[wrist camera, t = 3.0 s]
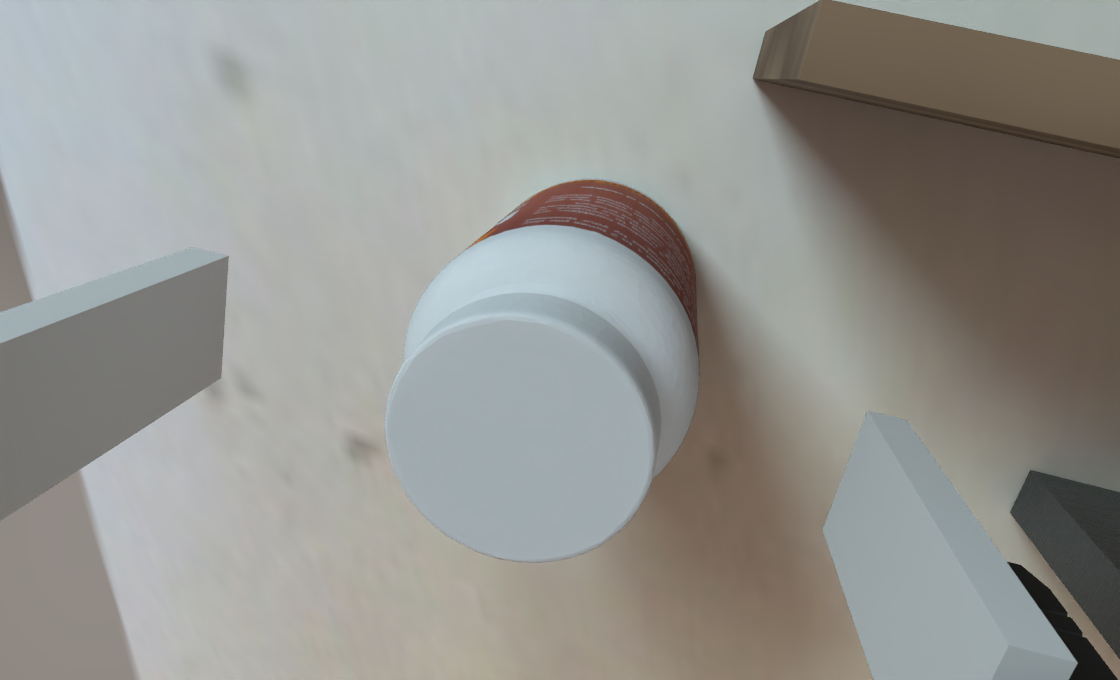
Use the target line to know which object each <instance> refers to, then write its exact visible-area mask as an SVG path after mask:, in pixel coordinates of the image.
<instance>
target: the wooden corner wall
mask: <svg viewBox="0 0 1120 680" xmlns="http://www.w3.org/2000/svg"><path fill="white" fill-rule="evenodd" d="M753 79H756V80H761V81H765V82H770V83H775V84H779V85H784V86H788V87H793V88H798V89H802V90H807V91H811V92H816V93H821V94H825V95H830V96H834V97H839V98H844V99H848V100H853V101H857V102H862V103H867V104H871V105H876V106H881V107H885V108H890V109H894V110H899V111H904V112H908V113H913V114H917V115H922V116H927V117H931V118H936V119H940V120H945V121H950V122H954V123H959V124H964V125H968V126H973V127H977V128H982V129H987V130H991V131H996V132H1000V133H1005V134H1010V135H1014V136H1019V137H1023V138H1028V139H1033V140H1037V141H1042V142H1047V143H1051V144H1056V145H1060V146H1065V147H1070V148H1074V149H1079V150H1083V151H1088V152H1093V153H1097V154H1102V155H1106V156H1111V157H1116V158H1120V60H1117V59H1112V58H1107V57H1102V56H1098V55H1093V54H1088V53H1083V52H1078V51H1073V50H1069V49H1064V48H1059V47H1054V46H1049V45H1044V44H1040V43H1035V42H1030V41H1025V40H1020V39H1016V38H1011V37H1006V36H1001V35H996V34H991V33H987V32H982V31H977V30H972V29H967V28H963V27H958V26H953V25H948V24H943V23H938V22H934V21H929V20H924V19H919V18H914V17H909V16H905V15H900V14H895V13H890V12H885V11H881V10H876V9H871V8H866V7H861V6H856V5H852V4H847V3H842V2H837V1H832V0H820V1H818V2H816V3H814V4H813V5H811V6H809V7H807V8H806V9H804V10H802V11H801V12H799V13H797V14H795V15H794V16H792V17H790V18H788V19H787V20H785V21H783V22H781V23H780V24H778V25H776V26H774V27H773V28H771V29H769V30H768V31H766V32H765V36H764V40H763V43H762V47H761V50H760V54H759V58H758V61H757V65H756V68H755V72H754V76H753Z"/></svg>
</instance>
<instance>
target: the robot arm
mask: <svg viewBox="0 0 1120 680" xmlns="http://www.w3.org/2000/svg"><path fill="white" fill-rule="evenodd" d="M228 257H229V256H227V255H223V254H219V253H215V252H211V251H206V250H202V249H198V248H194V247H193V248H190V249H187V250H184V251H181V252H178V253H175V254H172V255H169V256H166V257H163V258H160V259H157V260H154V261H151V262H148V263H145V264H142V265H139V266H137V267H134V268H131V269H128V270H125V271H122V272H119V273H116V274H113V275H110V276H107V277H104V278H101V279H98V280H95V281H92V282H89V283H86V284H83V285H80V286H77V287H74V288H71V289H68V290H65V291H62V292H59V293H56V294H54V295H51V296H48V297H45V298H42V299H39V300H36V301H33V302H30V303H27V304H24V305H21V306H18V307H15V308H12V309H9V310H6V311H3V312H0V521H1V520H3V519H4V518H6V517H7V516H9V515H10V514H12V513H13V512H15V511H16V510H18V509H19V508H21V507H23V506H24V505H26V504H27V503H29V502H30V501H32V500H33V499H35V498H37V497H38V496H39V495H41V494H43V493H44V492H46V491H47V490H49V489H50V488H52V487H53V486H55V485H57V484H58V483H60V482H61V481H63V480H64V479H66V478H67V477H69V476H70V475H72V474H74V473H75V472H77V471H78V470H80V469H81V468H83V467H84V466H86V465H87V464H89V463H91V462H92V461H94V460H95V459H97V458H98V457H100V456H101V455H103V454H104V453H106V452H108V451H109V450H111V449H112V448H114V447H115V446H117V445H118V444H120V443H121V442H123V441H124V440H126V439H128V438H129V437H131V436H132V435H134V434H135V433H137V432H138V431H140V430H141V429H143V428H145V427H146V426H148V425H149V424H151V423H152V422H154V421H155V420H157V419H158V418H160V417H162V416H163V415H165V414H166V413H168V412H169V411H171V410H172V409H174V408H175V407H177V406H178V405H180V404H182V403H183V402H185V401H186V400H188V399H189V398H191V397H192V396H194V395H195V394H197V393H199V392H200V391H202V390H203V389H205V388H206V387H208V386H209V385H211V384H212V383H214V382H216V381H217V380H219V379H220V378H221V372H222V356H223V339H224V323H225V307H226V290H227V274H228ZM823 533H824V536H825V539H826V542H827V545H828V548H829V551H830V554H831V557H832V560H833V562H834V565H835V568H836V571H837V574H838V577H839V580H840V583H841V586H842V589H843V592H844V595H845V598H846V601H847V604H848V607H849V609H850V612H851V615H852V618H853V621H854V624H855V627H856V630H857V633H858V636H859V639H860V642H861V645H862V648H863V651H864V654H865V656H866V659H867V662H868V665H869V668H870V671H871V674H872V677H873V680H1118V679H1117V678H1116V677H1115V675H1114V674H1113V673H1112V671H1111V670H1110V669H1109V667H1108V666H1107V665H1106V663H1105V662H1104V661H1103V659H1102V658H1101V657H1100V655H1099V654H1098V653H1097V651H1096V650H1095V649H1094V647H1093V646H1092V645H1091V643H1090V642H1089V641H1088V639H1087V638H1084V637H1082V631H1081V630H1080V629H1079V627H1078V626H1077V625H1076V623H1075V622H1074V621H1073V619H1072V618H1070V617H1067V614H1068V613H1067V611H1066V610H1065V609H1064V607H1063V606H1062V605H1061V603H1060V602H1059V601H1058V599H1057V598H1056V597H1055V595H1054V594H1053V593H1052V591H1051V590H1050V589H1049V588H1048V587H1047V586H1045V585H1044V584H1043V583H1042V582H1040V581H1039V580H1038V579H1037V578H1036V577H1034V576H1033V575H1032V574H1031V573H1030V572H1028V571H1027V570H1026V569H1025V568H1024V567H1022V566H1021V565H1018V564H1014V563H1010V562H1006V560H1005V559H1004V557H1003V556H1002V555H1001V553H1000V552H999V550H998V549H997V547H996V546H995V545H994V543H993V542H992V540H991V539H990V538H989V536H988V535H987V533H986V532H985V530H984V529H983V528H982V526H981V525H980V523H979V522H978V520H977V519H976V518H975V516H974V515H973V513H972V512H971V511H970V509H969V508H968V506H967V505H966V503H965V502H964V501H963V499H962V498H961V496H960V495H959V494H958V492H957V491H956V489H955V488H954V486H953V485H952V484H951V482H950V481H949V479H948V478H947V476H946V475H945V474H944V472H943V471H942V469H941V468H940V467H939V465H938V464H937V462H936V461H935V459H934V458H933V457H932V455H931V454H930V452H929V451H928V450H927V448H926V447H925V445H924V444H923V442H922V441H921V440H920V438H919V437H918V435H917V434H916V433H915V431H914V430H913V428H912V427H911V425H910V424H909V423H908V421H907V420H904V419H900V418H895V417H891V416H887V415H883V414H879V413H875V412H871V411H867V413H866V416H865V418H864V421H863V424H862V426H861V429H860V432H859V434H858V437H857V440H856V442H855V445H854V448H853V450H852V453H851V456H850V458H849V461H848V464H847V466H846V469H845V472H844V474H843V477H842V480H841V482H840V485H839V488H838V490H837V493H836V495H835V498H834V501H833V503H832V506H831V509H830V511H829V514H828V517H827V519H826V522H825V525H824V527H823Z"/></svg>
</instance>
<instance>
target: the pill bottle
mask: <svg viewBox="0 0 1120 680" xmlns="http://www.w3.org/2000/svg"><path fill="white" fill-rule="evenodd" d="M699 373H700V372H699V349H698V332H697V307H696V275H695V269H694V264H693V260H692V256H691V253H690V250H689V247H688V245H687V242H686V240H685V238H684V236H683V234H682V232H681V231H680V229H679V227H678V226H677V224H676V223H675V222H674V220H673V219H672V218H671V216H670V215H669V214H668V213H667V212H666V211H665V210H664V209H663V208H662V207H661V206H660V205H659V204H657V203H656V202H655V201H654V200H652V199H651V198H650V197H648V196H647V195H645V194H643V193H642V192H640V191H638V190H636V189H634V188H631V187H629V186H627V185H624V184H621V183H617V182H613V181H608V180H600V179H581V180H573V181H568V182H564V183H560V184H557V185H554V186H551V187H549V188H547V189H544V190H542V191H540V192H538V193H537V194H535V195H533V196H531V197H530V198H529V199H527V200H526V201H524V202H523V203H522V204H520V205H519V206H518V207H517V208H515V209H514V210H513V211H512V212H511V213H509V214H508V215H507V216H506V217H505V218H504V219H502V220H501V221H499V222H498V223H497V224H496V225H495V226H494V227H493V228H492V229H490V230H489V231H488V232H487V233H486V234H484V235H483V236H482V237H481V238H479V239H478V240H477V241H475V242H474V243H473V244H472V245H471V246H469V247H468V248H466V249H465V250H464V251H463V252H462V253H461V254H459V255H458V256H457V257H456V258H454V259H453V260H452V261H451V262H450V263H449V264H448V265H447V266H446V267H445V268H444V269H443V270H442V271H441V272H440V273H439V274H438V275H437V276H436V277H435V279H434V280H433V281H432V282H431V284H430V285H429V286H428V288H427V289H426V291H425V292H424V294H423V295H422V297H421V299H420V300H419V303H418V305H417V307H416V309H415V311H414V313H413V316H412V318H411V321H410V324H409V328H408V331H407V335H406V341H405V347H404V361H403V365H402V367H401V369H400V370H399V372H398V374H397V376H396V378H395V381H394V383H393V386H392V389H391V392H390V394H389V397H388V402H387V407H386V419H385V436H386V443H387V449H388V454H389V458H390V461H391V464H392V467H393V469H394V472H395V474H396V477H397V479H398V481H399V483H400V484H401V486H402V488H403V490H404V492H405V493H406V495H407V497H408V498H409V499H410V501H411V502H412V503H413V504H414V506H415V507H416V508H417V509H418V510H419V511H420V513H421V514H422V515H423V516H424V517H425V518H426V519H427V520H428V521H429V522H430V523H431V524H432V525H434V526H435V527H436V528H437V529H439V530H440V531H441V532H443V533H444V534H445V535H447V536H448V537H450V538H451V539H453V540H455V541H456V542H458V543H460V544H462V545H464V546H466V547H468V548H470V549H472V550H474V551H476V552H479V553H482V554H485V555H488V556H491V557H494V558H498V559H503V560H509V561H516V562H530V563H538V562H549V561H557V560H563V559H568V558H571V557H574V556H577V555H580V554H584V553H586V552H588V551H590V550H592V549H595V548H597V547H599V546H600V545H602V544H603V543H605V542H606V541H608V540H609V539H611V538H612V537H613V536H614V535H615V534H617V533H618V532H619V531H620V530H621V529H623V528H624V527H625V526H626V524H627V523H628V522H629V521H630V520H631V519H632V517H633V516H634V515H635V514H636V512H637V510H638V509H639V507H640V506H641V504H642V503H643V501H644V499H645V497H646V495H647V493H648V490H649V488H650V485H651V482H652V480H653V479H654V478H655V477H656V476H657V475H658V474H659V473H660V472H661V471H662V470H663V469H664V468H665V467H666V465H667V464H668V463H669V462H670V460H671V459H672V458H673V457H674V455H675V453H676V452H677V450H678V449H679V447H680V445H681V444H682V442H683V440H684V438H685V436H686V434H687V431H688V429H689V426H690V424H691V421H692V418H693V415H694V411H695V408H696V402H697V395H698V385H699Z"/></svg>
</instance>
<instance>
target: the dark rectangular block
mask: <svg viewBox="0 0 1120 680" xmlns="http://www.w3.org/2000/svg"><path fill="white" fill-rule="evenodd" d="M1010 513H1011V514H1012V516H1013V517H1014V518H1015V520H1016V521H1017V522H1018V524H1019V525H1020V526H1021V528H1022V529H1023V530H1024V532H1025V533H1026V534H1027V536H1028V537H1029V538H1030V540H1031V541H1032V542H1033V544H1034V545H1035V546H1036V548H1037V549H1038V550H1039V552H1040V553H1041V554H1042V556H1043V557H1044V558H1045V560H1046V561H1047V562H1048V564H1049V565H1050V567H1051V568H1052V569H1053V571H1054V572H1055V573H1056V575H1057V576H1058V577H1059V579H1060V580H1061V581H1062V583H1063V584H1064V585H1065V587H1066V588H1067V589H1068V591H1069V592H1070V593H1071V595H1072V596H1073V597H1074V599H1075V600H1076V601H1077V603H1078V604H1079V605H1080V607H1081V608H1082V609H1083V611H1084V612H1085V613H1086V615H1087V616H1088V617H1089V619H1090V620H1091V621H1092V623H1093V624H1094V625H1095V627H1096V628H1097V629H1098V631H1099V632H1100V633H1101V635H1102V636H1103V637H1104V639H1105V640H1106V641H1107V643H1108V644H1109V645H1110V647H1111V648H1112V650H1113V651H1114V652H1115V654H1116V655H1117V656H1118V658H1119V659H1120V492H1116V491H1112V490H1108V489H1104V488H1100V487H1096V486H1092V485H1088V484H1084V483H1080V482H1076V481H1072V480H1068V479H1064V478H1060V477H1056V476H1052V475H1048V474H1044V473H1040V472H1035V471H1031V470H1030V472H1029V474H1028V476H1027V478H1026V480H1025V483H1024V485H1023V487H1022V489H1021V491H1020V493H1019V495H1018V497H1017V499H1016V501H1015V503H1014V506H1013V508H1012V510H1011V512H1010Z"/></svg>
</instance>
